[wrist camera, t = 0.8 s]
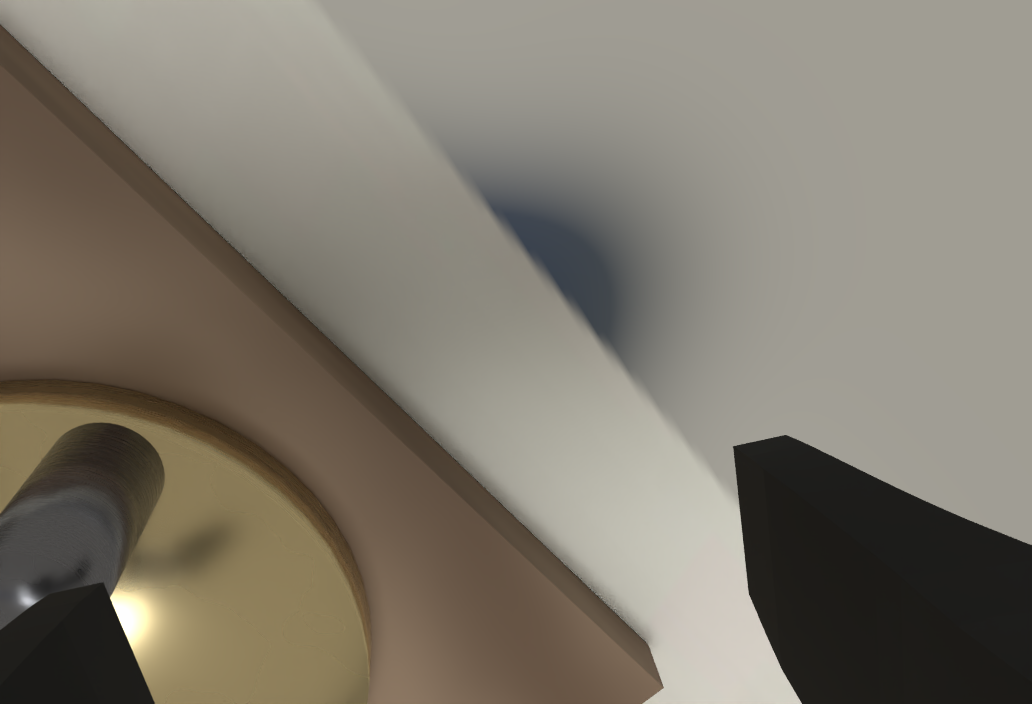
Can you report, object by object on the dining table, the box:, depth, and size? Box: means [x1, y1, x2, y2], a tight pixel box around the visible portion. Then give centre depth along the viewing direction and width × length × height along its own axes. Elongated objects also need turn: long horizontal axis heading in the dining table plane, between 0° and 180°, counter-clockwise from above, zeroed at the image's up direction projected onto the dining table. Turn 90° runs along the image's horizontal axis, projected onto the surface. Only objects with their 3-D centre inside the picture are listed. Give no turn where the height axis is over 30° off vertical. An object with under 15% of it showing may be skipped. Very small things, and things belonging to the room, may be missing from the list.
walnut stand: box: [0, 25, 664, 704], centre depth 19 cm, size 14×20×4 cm
